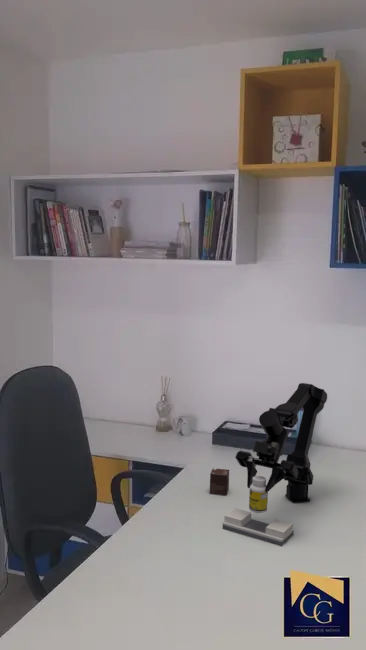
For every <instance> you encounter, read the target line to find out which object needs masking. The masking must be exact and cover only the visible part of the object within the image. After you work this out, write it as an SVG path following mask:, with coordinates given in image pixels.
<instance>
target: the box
mask: <svg viewBox="0 0 366 650" xmlns="http://www.w3.org/2000/svg"><path fill="white" fill-rule="evenodd" d="M229 487H230V469H225V468H216V467H215V468H212V469H211V472H210V474H209V494H210V495H217V496H219V495H220V496H227V495H228V493H229V491H230V490H229Z"/></svg>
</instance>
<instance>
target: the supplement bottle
mask: <svg viewBox="0 0 366 650" xmlns="http://www.w3.org/2000/svg"><path fill="white" fill-rule="evenodd" d="M266 486H267V478H266V477H265V476H263V475H262V476H260V475H256V476H254V477H253V479H252V484H251V485H250V488H249V497H248V499H249V500H248V501H249V502H248V510H249V512H250V511H251V513H252V512H253V513H255V514H263V513H264V514H265V513H266V512H267V511H268V502H269V500H268V498H269V497H268V496H269V491H268V492H267V493H266V492H265V489H266Z"/></svg>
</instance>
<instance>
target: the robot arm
mask: <svg viewBox="0 0 366 650" xmlns="http://www.w3.org/2000/svg"><path fill="white" fill-rule="evenodd" d="M327 400H328V393H327V392H326V391H325V389H323V388H319V387H317V386H316V385H314V384H311V383H306V382H300V383H298V385H297V388H296V390H295V391H294V392H293V393H292V395H291V396H290V397H289V398H288V400H287V401H286V402H284V403H280V404H279V405H277V406H276V407H275V408H273V407H269V409H268V410H266V411H264V412H262V413H261V414H260V415H259V419H258V421H259V424H260V426H261V428H262V429H263V432H264V433H265V435H267V436H266V438H265V440H263V441H258V440H257V441H256V440H255V441H254V446H253V450H252V451H253V452H254V453H256V454H255V455H256V456H257V457H254V456H253V454H251V452H249V451H244V450H238V451H237V452H236V453H235V456H234V458H235V460H236V461H237V463H238V464H239V465H240V466H241V467H243V468H246V469H247V470H246V472H247V479H246V480H247V481H246V482H247V483H246V485H247V488H248V489H250V485H251V484H253V483H252V479H253V477H254V476H257V473H258V470H257V468H256V467H257V466H260V467H264V468H269V469H271V474H270V476H269V478H268V482H266V485H267V486H266V489H265V492H266V493H267V492H268V493H269V491H271V489H273V488H274V487H275V486H276V485H277V484H279V483H280V482H281V481H282V480H284V481H287V485H286V493H285V496H284V497H286V498H287V499H288V500H289V501H291V502H292V503H295V504H297V503H306V502H311V499H310V498H309V486H310V485H313V483H314V482H313V481H314V474H313V471H312V469H311V462H310V458H309V455H308V454H309V450H310V447H311V442H312V438H313V433H314V430H315V429H314V428H315V424H316V420H317V416H318V414H319V413H320V412H321V411H322V410H323V409H324V408H325V404H326V403H327ZM301 409H302V410H303V411H302V412H303V413H302V416H301V421H300V424H299V428H298V432H297V437H296V441H295V446H294V450H293V451H292V452H291V453H288V454H287V456H286V460H285V459H283V460H281V461H280V463H279V460H280V457H282V456H283V454H284V452H283V449H284V446H285V443H286V441H287V440H289V437H290V436H289V432H288V431H287V428H288V429H293V428H294V427H295V426H297V424H298V421H299V416H298V415H299V412H300V411H301Z"/></svg>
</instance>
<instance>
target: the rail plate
mask: <svg viewBox="0 0 366 650" xmlns="http://www.w3.org/2000/svg"><path fill="white" fill-rule="evenodd" d="M293 527H294V523H291V522H287V521H284V520H280V519H278V518H277V519H276V518H275V519H274V520H273V521H271V522H270V523H268V522H265V521H260V520H256V519H253V518H252V511H251V512H250V511H247V510H243V509H240V508H237V507H235V508H233V509H232V510H230V511H229V512H227V514H225V515H224V520H223V522H222V529H223V530H226V531H229V532H233V533H236V534H239V535H242V536H246V537H248V538H249V537H250V538H253V539H255V540H260V541H263V542H266V543H270V544H273V545H276V546H280V547H283V545H284V544H286V542H288V540H290V539H291V538H292V537H293V536H294V533H295V532H294V531H295V530H293V529H294V528H293Z"/></svg>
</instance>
